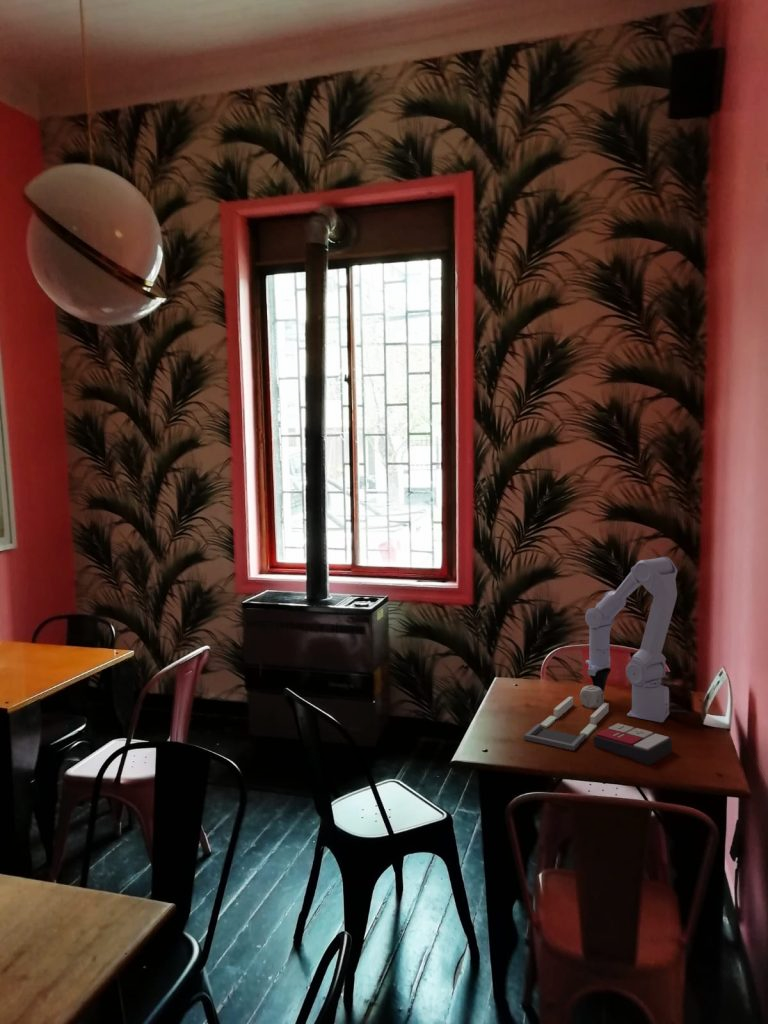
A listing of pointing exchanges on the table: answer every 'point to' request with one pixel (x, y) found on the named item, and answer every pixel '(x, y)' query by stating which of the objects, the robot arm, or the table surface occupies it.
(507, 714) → the table surface
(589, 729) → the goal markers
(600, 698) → the die
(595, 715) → the white guide rails
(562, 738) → the tray
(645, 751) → the calculator
